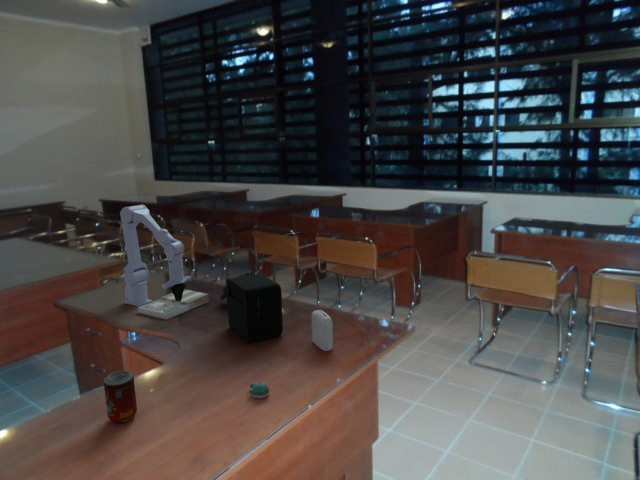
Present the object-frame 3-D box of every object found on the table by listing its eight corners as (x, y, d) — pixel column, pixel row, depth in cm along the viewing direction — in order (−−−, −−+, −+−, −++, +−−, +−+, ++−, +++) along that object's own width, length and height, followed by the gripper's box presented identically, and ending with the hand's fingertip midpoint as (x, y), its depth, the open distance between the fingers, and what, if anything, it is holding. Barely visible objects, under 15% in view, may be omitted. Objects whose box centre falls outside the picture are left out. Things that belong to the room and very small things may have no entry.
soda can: (103, 420, 120) (98, 376, 118) (129, 408, 126) (124, 366, 123) (116, 430, 116) (111, 385, 113) (143, 417, 121) (138, 374, 119)
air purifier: (286, 336, 171) (284, 284, 167) (248, 345, 163) (246, 291, 159) (263, 319, 188) (261, 271, 184) (228, 327, 180) (225, 277, 176)
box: (138, 313, 197) (137, 307, 196) (161, 304, 207) (160, 299, 207) (166, 320, 189) (166, 314, 188) (188, 310, 199) (188, 305, 198)
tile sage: (171, 305, 198) (172, 309, 199) (162, 308, 194) (163, 313, 195) (180, 307, 196) (180, 311, 196) (171, 310, 192) (171, 315, 192)
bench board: (161, 304, 207) (161, 297, 206) (183, 296, 218) (183, 289, 217) (187, 310, 199) (187, 302, 198) (209, 301, 210) (208, 294, 209)
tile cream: (158, 301, 203) (158, 305, 204) (149, 305, 199) (149, 309, 200) (166, 303, 201) (166, 307, 201) (157, 306, 197) (157, 311, 197)
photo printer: (310, 341, 166) (309, 308, 164) (321, 339, 168) (320, 306, 165) (323, 352, 157) (322, 317, 155) (334, 350, 159) (334, 315, 156)
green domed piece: (253, 402, 128) (253, 389, 127) (244, 390, 134) (243, 378, 133) (273, 396, 131) (272, 384, 130) (263, 385, 137) (262, 373, 136)
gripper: (169, 275, 188) (172, 307, 190) (195, 267, 200) (197, 297, 203) (157, 273, 191) (160, 304, 194) (183, 265, 203) (186, 294, 206)
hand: (178, 300), depth 199 cm, fingers closed
